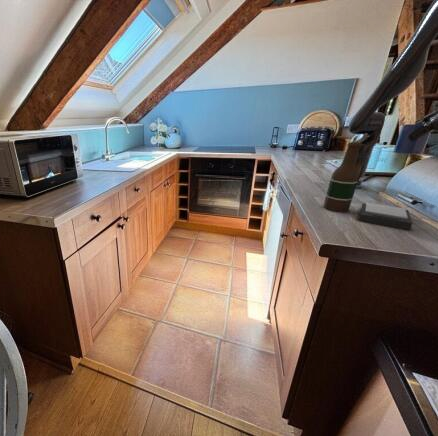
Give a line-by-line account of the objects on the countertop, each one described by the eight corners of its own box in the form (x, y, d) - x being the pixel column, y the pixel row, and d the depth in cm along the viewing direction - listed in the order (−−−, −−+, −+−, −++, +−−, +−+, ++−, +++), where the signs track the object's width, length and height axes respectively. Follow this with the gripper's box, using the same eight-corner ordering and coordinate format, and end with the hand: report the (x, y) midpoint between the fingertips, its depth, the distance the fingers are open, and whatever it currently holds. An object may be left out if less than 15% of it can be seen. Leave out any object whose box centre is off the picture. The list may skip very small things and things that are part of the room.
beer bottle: (325, 203, 97) (343, 140, 87) (350, 208, 91) (371, 141, 82) (320, 208, 92) (338, 142, 82) (346, 213, 86) (368, 143, 77)
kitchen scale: (360, 209, 90) (363, 201, 89) (405, 216, 83) (409, 208, 82) (358, 220, 81) (361, 212, 80) (409, 230, 73) (413, 221, 72)
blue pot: (392, 150, 78) (402, 124, 75) (421, 152, 75) (432, 124, 71) (393, 153, 74) (403, 125, 71) (423, 154, 70) (435, 125, 67)
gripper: (460, 83, 69) (390, 127, 79) (491, 77, 58) (404, 129, 68) (479, 102, 69) (406, 144, 79) (514, 100, 57) (423, 149, 68)
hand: (405, 137), depth 73 cm, fingers closed on blue pot, 6 cm apart
